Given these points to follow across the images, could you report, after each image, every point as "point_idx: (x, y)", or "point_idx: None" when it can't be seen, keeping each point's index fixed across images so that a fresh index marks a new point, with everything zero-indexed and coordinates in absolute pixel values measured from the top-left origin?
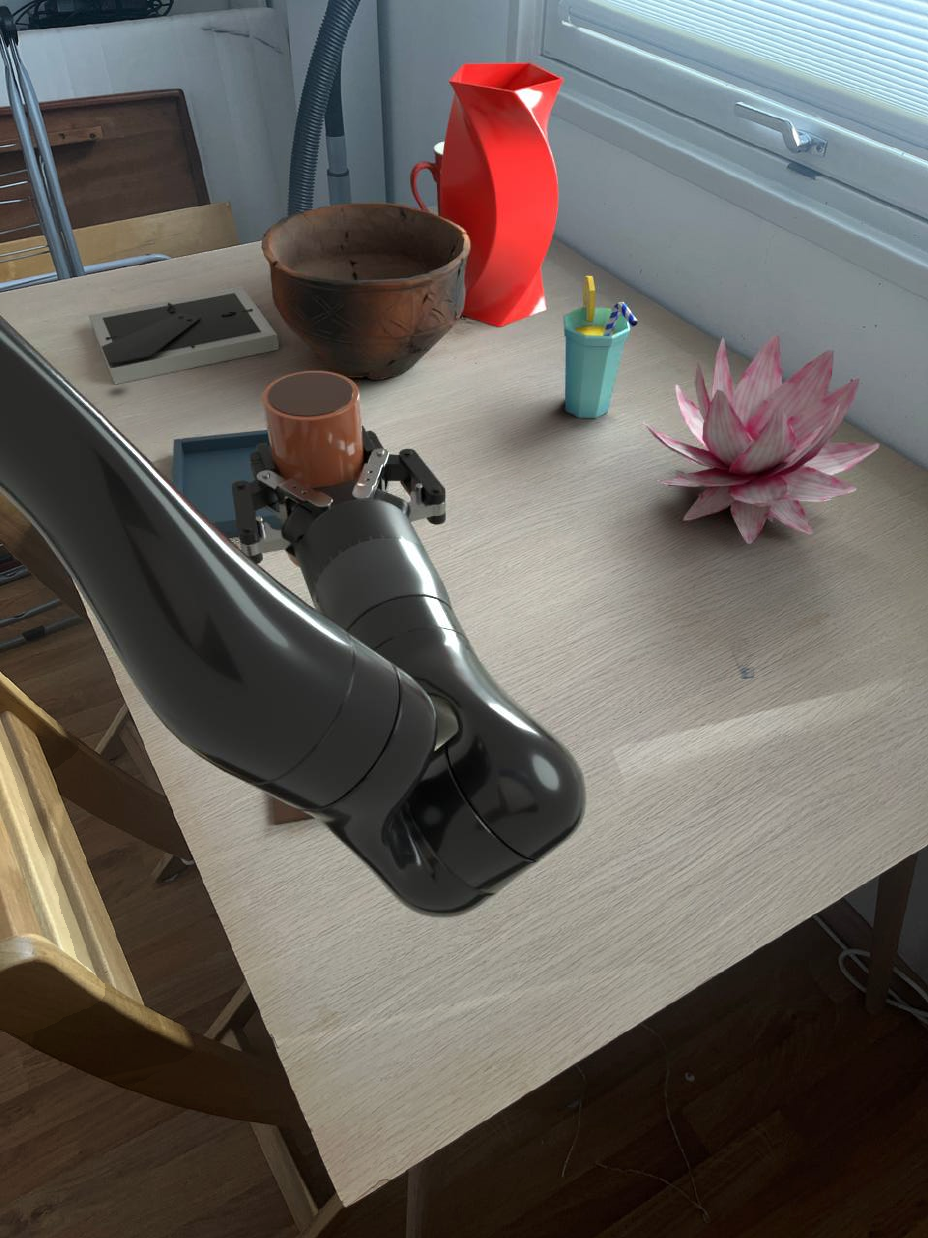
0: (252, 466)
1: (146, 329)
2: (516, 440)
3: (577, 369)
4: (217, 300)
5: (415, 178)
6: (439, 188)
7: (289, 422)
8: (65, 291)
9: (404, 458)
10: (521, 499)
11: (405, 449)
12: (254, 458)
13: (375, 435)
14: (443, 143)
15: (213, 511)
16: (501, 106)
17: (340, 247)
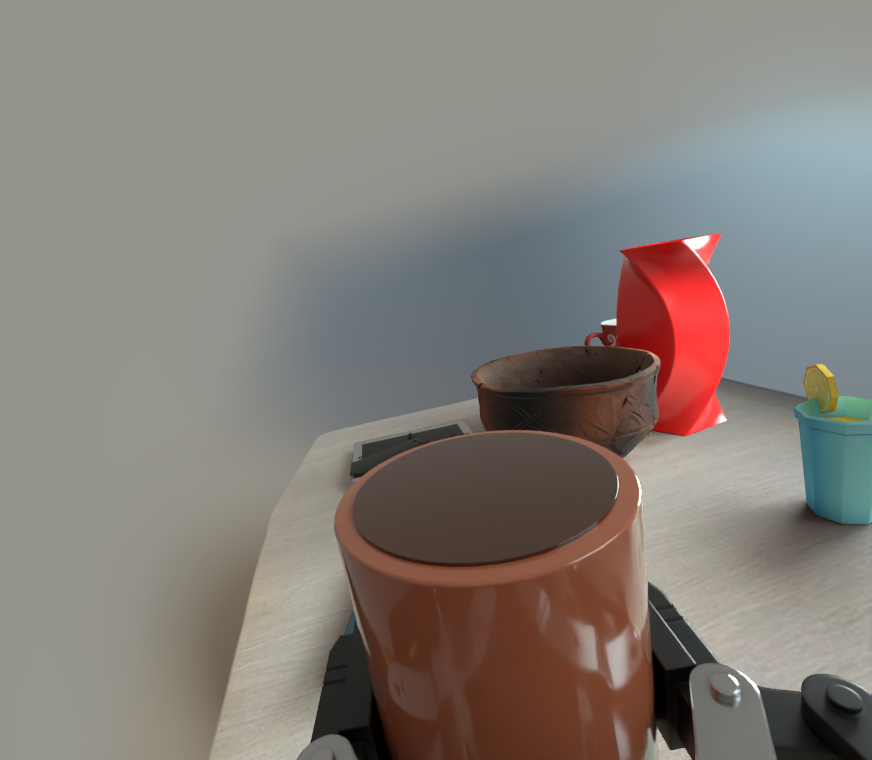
0: (325, 689)
1: (387, 450)
2: (768, 553)
3: (833, 464)
4: (444, 429)
5: (588, 343)
6: None
7: (385, 589)
8: (350, 431)
9: (851, 736)
10: (833, 655)
11: (819, 679)
12: (339, 659)
13: (664, 598)
14: (607, 321)
15: None
16: (669, 256)
17: (536, 381)
